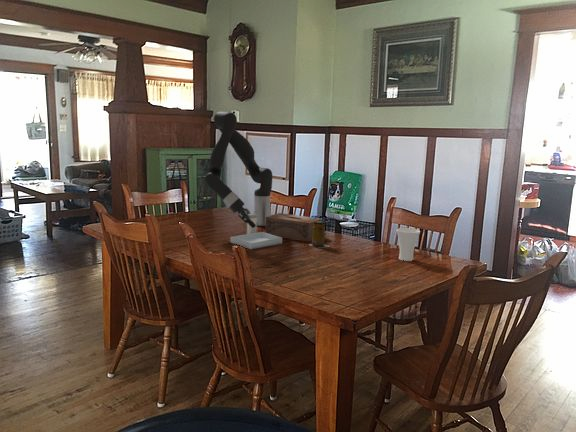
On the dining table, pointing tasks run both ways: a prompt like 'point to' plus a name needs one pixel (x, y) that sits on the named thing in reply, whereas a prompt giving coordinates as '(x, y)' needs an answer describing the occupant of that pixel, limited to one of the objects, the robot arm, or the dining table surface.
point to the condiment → (318, 235)
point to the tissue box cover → (291, 226)
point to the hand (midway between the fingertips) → (255, 225)
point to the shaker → (254, 219)
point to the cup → (407, 242)
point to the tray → (256, 240)
